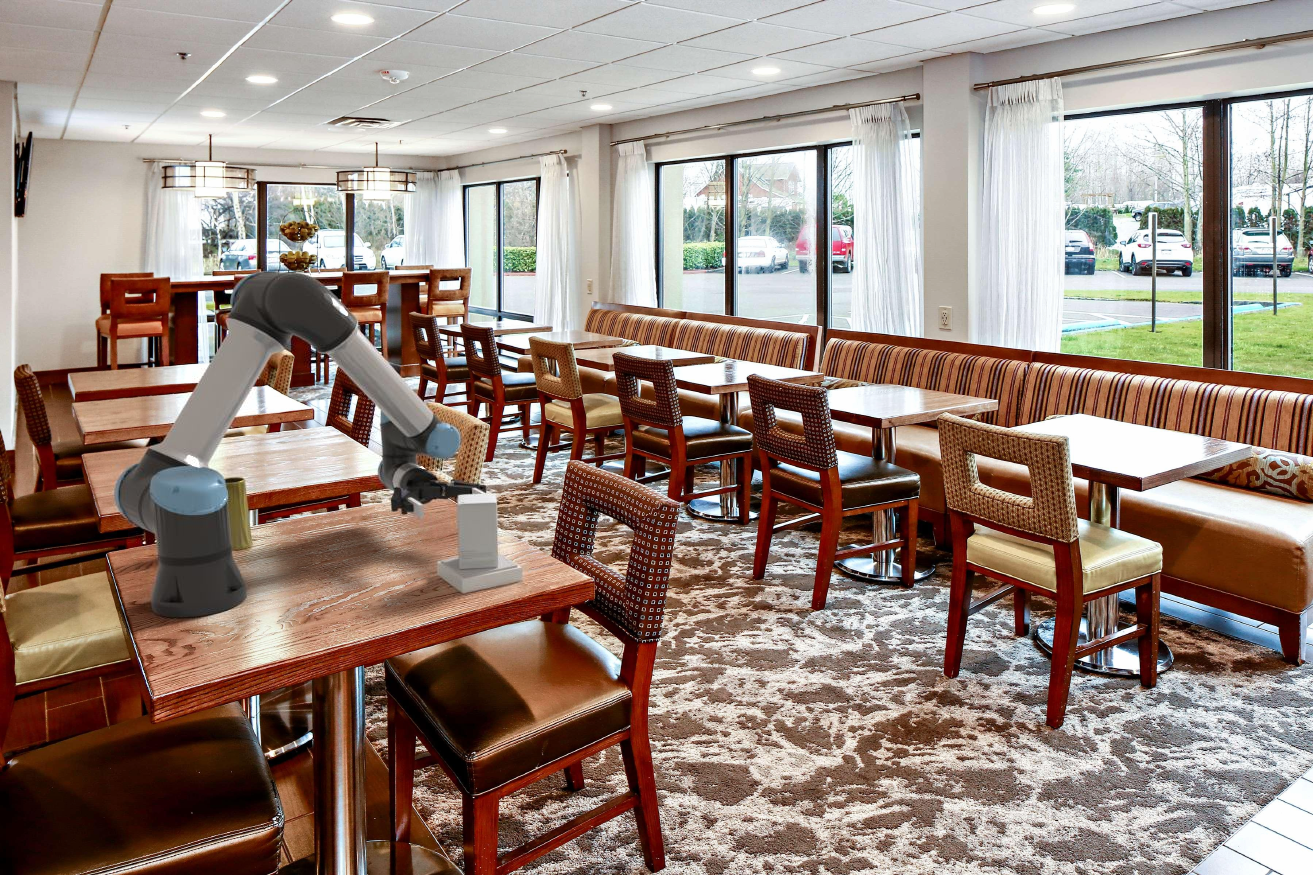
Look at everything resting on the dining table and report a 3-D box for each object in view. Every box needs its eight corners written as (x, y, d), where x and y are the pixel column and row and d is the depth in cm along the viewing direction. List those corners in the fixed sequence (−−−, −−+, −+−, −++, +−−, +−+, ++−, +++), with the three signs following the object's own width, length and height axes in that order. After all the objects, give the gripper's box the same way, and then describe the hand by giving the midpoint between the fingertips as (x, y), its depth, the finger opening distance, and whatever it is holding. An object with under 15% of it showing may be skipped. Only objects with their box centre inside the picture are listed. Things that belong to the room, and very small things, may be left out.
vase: (246, 539, 202) (241, 475, 199) (257, 546, 197) (252, 480, 194) (217, 545, 198) (210, 479, 195) (227, 552, 193) (221, 485, 190)
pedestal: (462, 593, 171) (462, 577, 171) (437, 574, 181) (436, 559, 180) (522, 580, 178) (522, 565, 177) (495, 563, 188) (494, 548, 187)
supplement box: (498, 567, 176) (496, 502, 173) (458, 570, 175) (455, 504, 172) (498, 555, 183) (496, 492, 180) (459, 557, 182) (457, 493, 179)
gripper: (471, 492, 210) (513, 515, 193) (359, 509, 196) (394, 535, 179) (470, 459, 209) (512, 479, 192) (357, 474, 195) (391, 497, 178)
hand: (455, 506), depth 185 cm, fingers open, 13 cm apart
